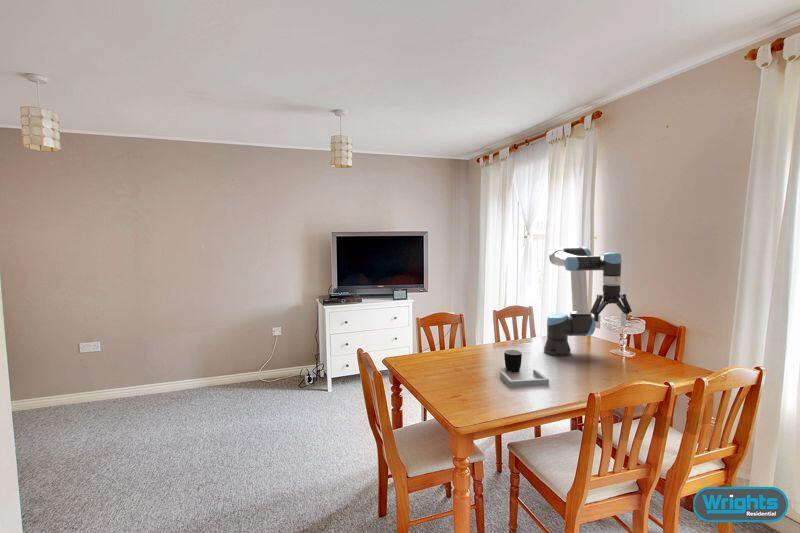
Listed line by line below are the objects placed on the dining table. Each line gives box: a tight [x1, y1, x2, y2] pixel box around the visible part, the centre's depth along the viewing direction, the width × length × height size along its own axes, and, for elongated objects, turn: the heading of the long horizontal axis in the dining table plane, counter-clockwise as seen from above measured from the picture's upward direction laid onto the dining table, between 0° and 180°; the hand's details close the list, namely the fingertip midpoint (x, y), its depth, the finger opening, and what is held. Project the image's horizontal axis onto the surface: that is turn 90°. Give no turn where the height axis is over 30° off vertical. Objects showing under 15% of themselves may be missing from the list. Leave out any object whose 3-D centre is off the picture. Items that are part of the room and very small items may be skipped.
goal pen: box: [499, 368, 550, 389], centre depth 188 cm, size 14×19×3 cm
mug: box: [503, 349, 523, 373], centre depth 204 cm, size 12×9×10 cm
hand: (610, 327), depth 187 cm, fingers open, 13 cm apart
